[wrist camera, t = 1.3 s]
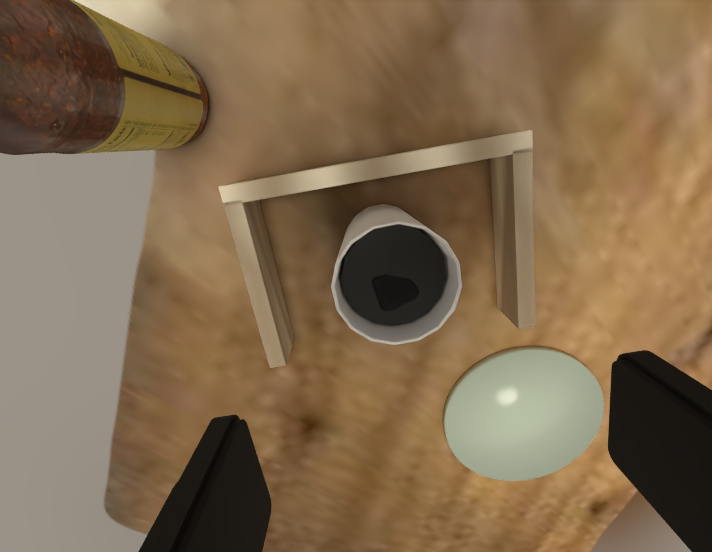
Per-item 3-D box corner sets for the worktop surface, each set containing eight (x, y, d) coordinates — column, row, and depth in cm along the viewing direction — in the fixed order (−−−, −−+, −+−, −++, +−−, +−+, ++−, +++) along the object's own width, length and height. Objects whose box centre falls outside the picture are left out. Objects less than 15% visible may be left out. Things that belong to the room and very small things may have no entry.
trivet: (601, 334, 30) (607, 338, 30) (595, 462, 35) (600, 469, 34) (435, 359, 31) (437, 364, 30) (450, 482, 36) (452, 489, 35)
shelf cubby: (505, 133, 25) (532, 129, 22) (512, 304, 30) (535, 326, 26) (237, 182, 26) (218, 186, 23) (280, 341, 31) (270, 367, 27)
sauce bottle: (112, 48, 24) (-824, -368, 5) (208, 50, 24) (-346, -348, 5) (130, 153, 26) (-479, 150, 7) (218, 156, 26) (-146, 158, 7)
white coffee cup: (436, 264, 28) (478, 318, 19) (358, 294, 29) (360, 361, 20) (408, 183, 27) (438, 199, 17) (324, 218, 27) (309, 252, 18)
